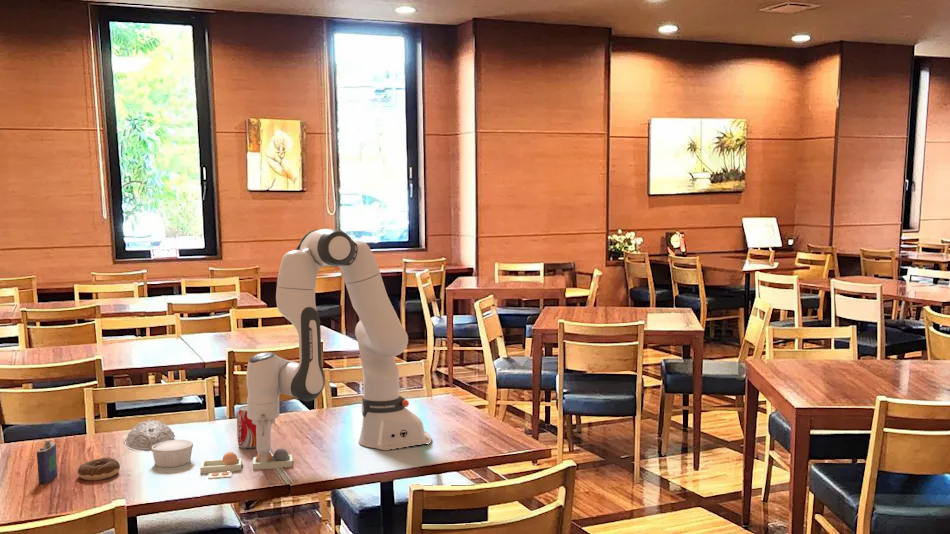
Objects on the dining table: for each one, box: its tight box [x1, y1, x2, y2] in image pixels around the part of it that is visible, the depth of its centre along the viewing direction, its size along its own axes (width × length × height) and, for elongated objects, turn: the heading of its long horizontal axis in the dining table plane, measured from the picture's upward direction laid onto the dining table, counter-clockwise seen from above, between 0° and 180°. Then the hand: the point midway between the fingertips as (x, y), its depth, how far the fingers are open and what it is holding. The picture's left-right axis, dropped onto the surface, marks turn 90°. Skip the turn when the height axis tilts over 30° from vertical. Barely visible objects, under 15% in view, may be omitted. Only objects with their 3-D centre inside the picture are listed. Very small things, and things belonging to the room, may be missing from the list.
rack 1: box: [199, 457, 243, 475], centre depth 231 cm, size 11×6×2 cm, turn 104°
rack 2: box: [252, 454, 293, 471], centre depth 234 cm, size 11×6×2 cm, turn 104°
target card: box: [207, 471, 233, 480], centre depth 225 cm, size 6×4×1 cm, turn 104°
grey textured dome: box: [123, 419, 176, 452], centre depth 258 cm, size 16×25×7 cm, turn 23°
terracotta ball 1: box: [222, 451, 238, 465], centre depth 231 cm, size 4×4×4 cm
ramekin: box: [151, 439, 194, 468], centre depth 236 cm, size 11×11×5 cm
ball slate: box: [273, 448, 289, 461], centre depth 234 cm, size 4×4×4 cm
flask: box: [36, 439, 58, 486], centre depth 222 cm, size 9×3×11 cm, turn 8°
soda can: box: [236, 405, 256, 449], centre depth 251 cm, size 7×7×12 cm
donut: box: [77, 457, 121, 481], centre depth 225 cm, size 11×11×4 cm
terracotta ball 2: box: [256, 451, 273, 463], centre depth 233 cm, size 4×4×4 cm
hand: (264, 458), depth 233 cm, fingers open, 5 cm apart
